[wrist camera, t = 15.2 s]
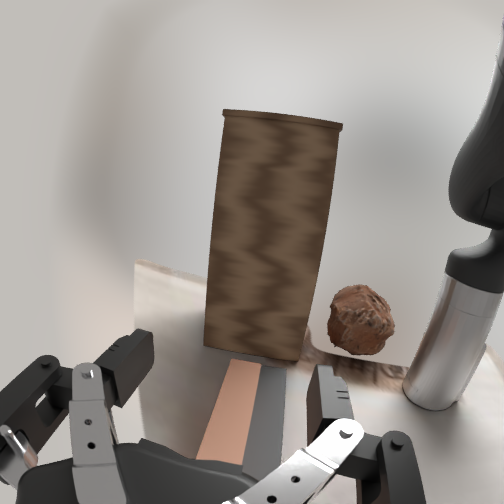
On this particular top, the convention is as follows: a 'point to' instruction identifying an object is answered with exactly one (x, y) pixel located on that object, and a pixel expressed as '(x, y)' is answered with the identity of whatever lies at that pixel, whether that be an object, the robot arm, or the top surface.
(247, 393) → the tan wooden bar
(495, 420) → the top surface
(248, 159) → the stand
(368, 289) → the decorative rock
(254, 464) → the mat
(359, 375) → the top surface
